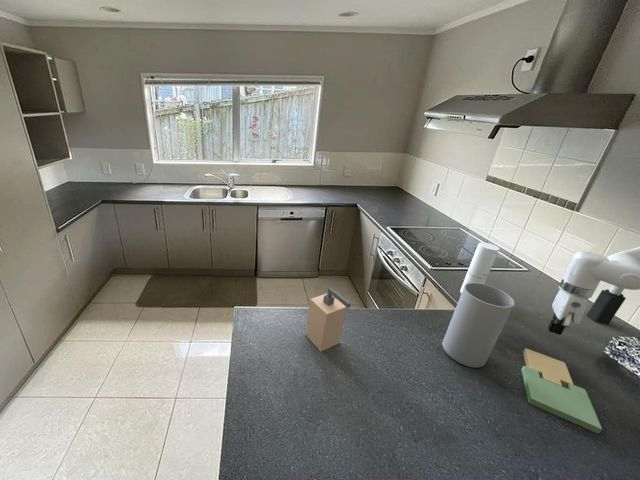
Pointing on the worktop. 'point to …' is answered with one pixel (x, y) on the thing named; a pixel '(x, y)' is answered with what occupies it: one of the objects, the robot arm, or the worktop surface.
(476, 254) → the cylindrical container
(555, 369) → the small pad
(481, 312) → the cylinder vase
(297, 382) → the worktop surface
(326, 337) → the soap dispenser
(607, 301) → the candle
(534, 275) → the worktop surface
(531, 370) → the big pad
